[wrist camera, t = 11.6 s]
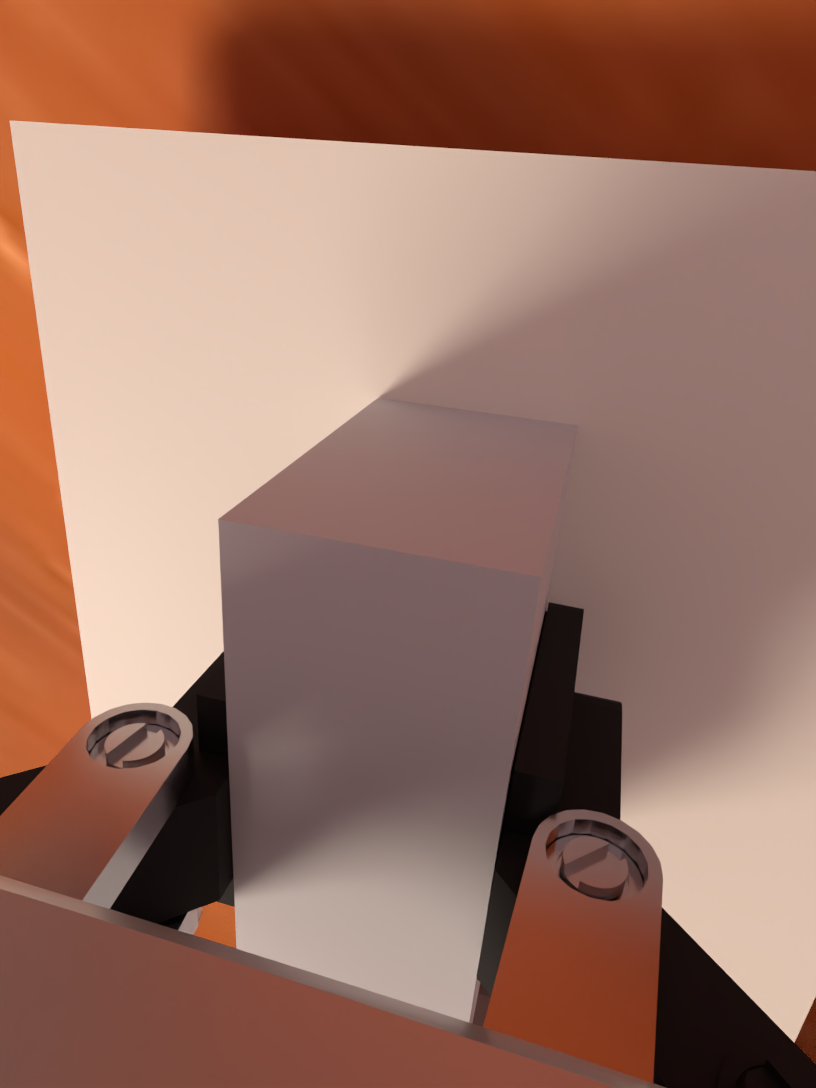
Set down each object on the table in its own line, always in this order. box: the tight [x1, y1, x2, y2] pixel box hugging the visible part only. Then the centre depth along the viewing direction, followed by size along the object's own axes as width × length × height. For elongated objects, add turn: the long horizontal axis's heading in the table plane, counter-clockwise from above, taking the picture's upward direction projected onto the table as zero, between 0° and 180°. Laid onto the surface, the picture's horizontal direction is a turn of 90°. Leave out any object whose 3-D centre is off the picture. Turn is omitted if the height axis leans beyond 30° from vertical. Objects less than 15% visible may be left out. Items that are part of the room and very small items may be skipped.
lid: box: [10, 121, 816, 1043], centre depth 11 cm, size 15×15×6 cm
